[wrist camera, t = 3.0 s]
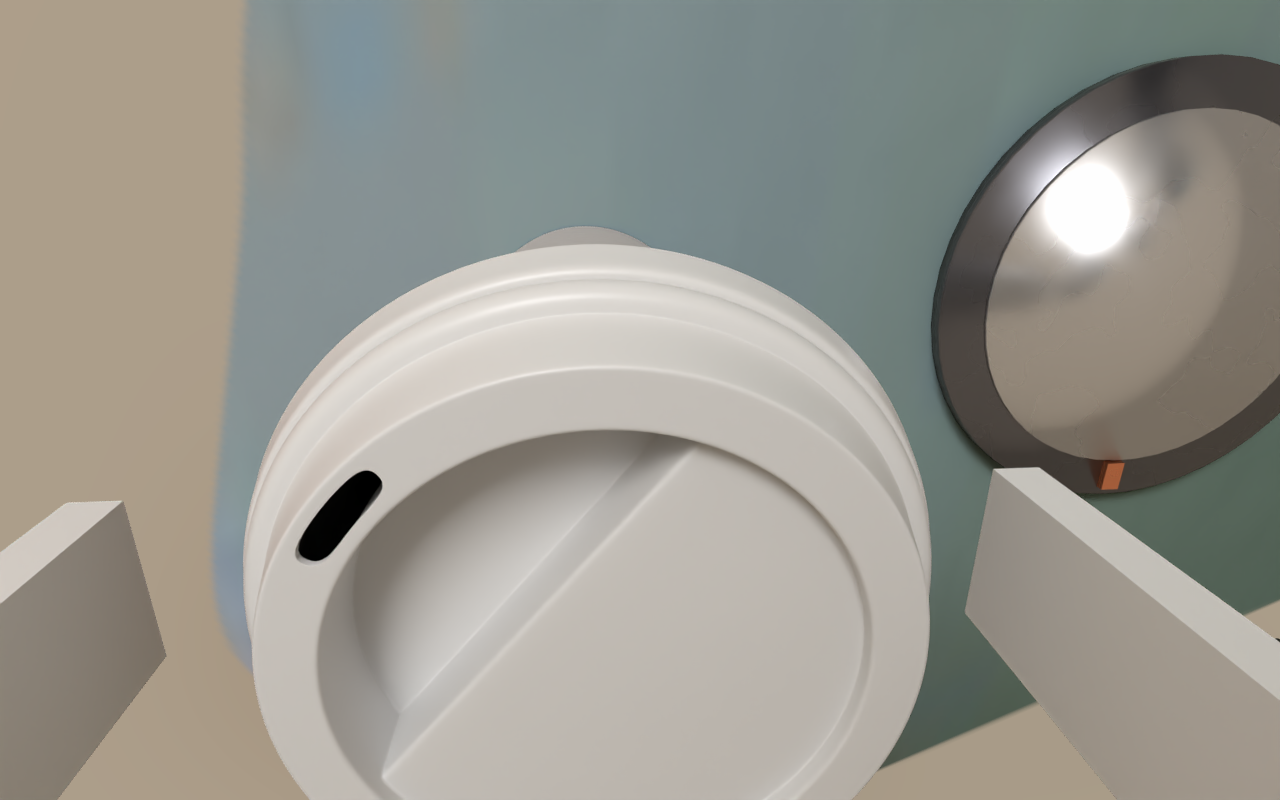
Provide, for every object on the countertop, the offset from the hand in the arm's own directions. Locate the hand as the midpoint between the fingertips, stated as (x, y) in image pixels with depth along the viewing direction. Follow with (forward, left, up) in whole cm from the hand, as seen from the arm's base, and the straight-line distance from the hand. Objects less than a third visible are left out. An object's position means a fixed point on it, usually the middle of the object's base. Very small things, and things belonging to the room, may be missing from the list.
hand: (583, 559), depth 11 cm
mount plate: (-1, +18, -12) cm, 22 cm away
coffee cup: (0, 0, -12) cm, 12 cm away
